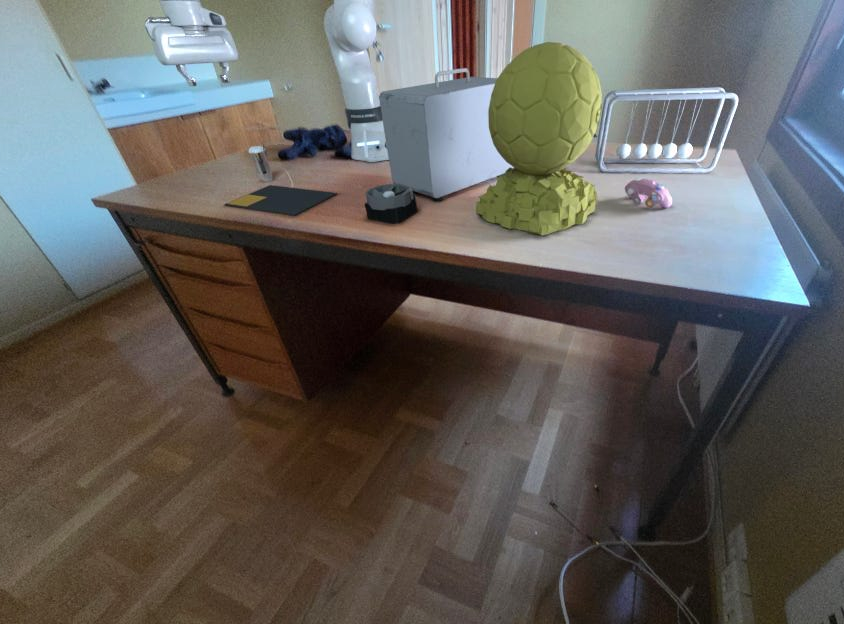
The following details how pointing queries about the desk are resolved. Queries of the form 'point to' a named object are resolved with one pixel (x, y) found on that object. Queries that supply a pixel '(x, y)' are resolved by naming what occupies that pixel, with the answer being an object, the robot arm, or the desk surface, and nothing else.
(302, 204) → the desk mat
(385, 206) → the cpu cooler
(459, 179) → the vintage electronic device
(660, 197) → the video game controller
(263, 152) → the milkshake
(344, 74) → the robot arm
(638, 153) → the newton's cradle
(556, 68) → the trophy
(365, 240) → the desk surface
